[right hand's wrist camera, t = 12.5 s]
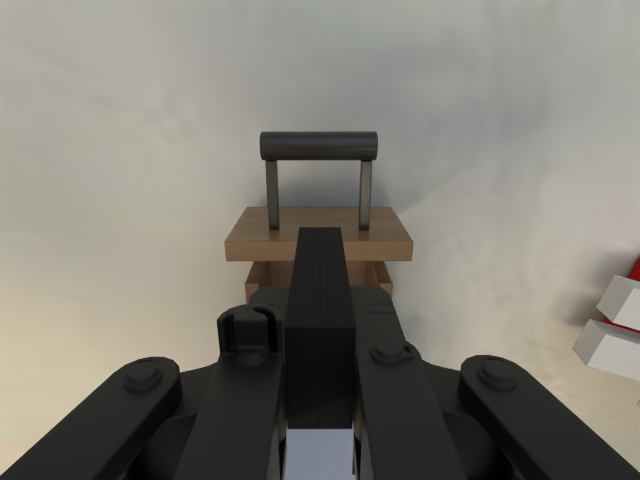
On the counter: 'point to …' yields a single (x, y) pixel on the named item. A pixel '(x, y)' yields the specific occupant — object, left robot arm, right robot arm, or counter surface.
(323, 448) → the cabinet
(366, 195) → the drawer
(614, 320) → the toy
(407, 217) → the counter surface
